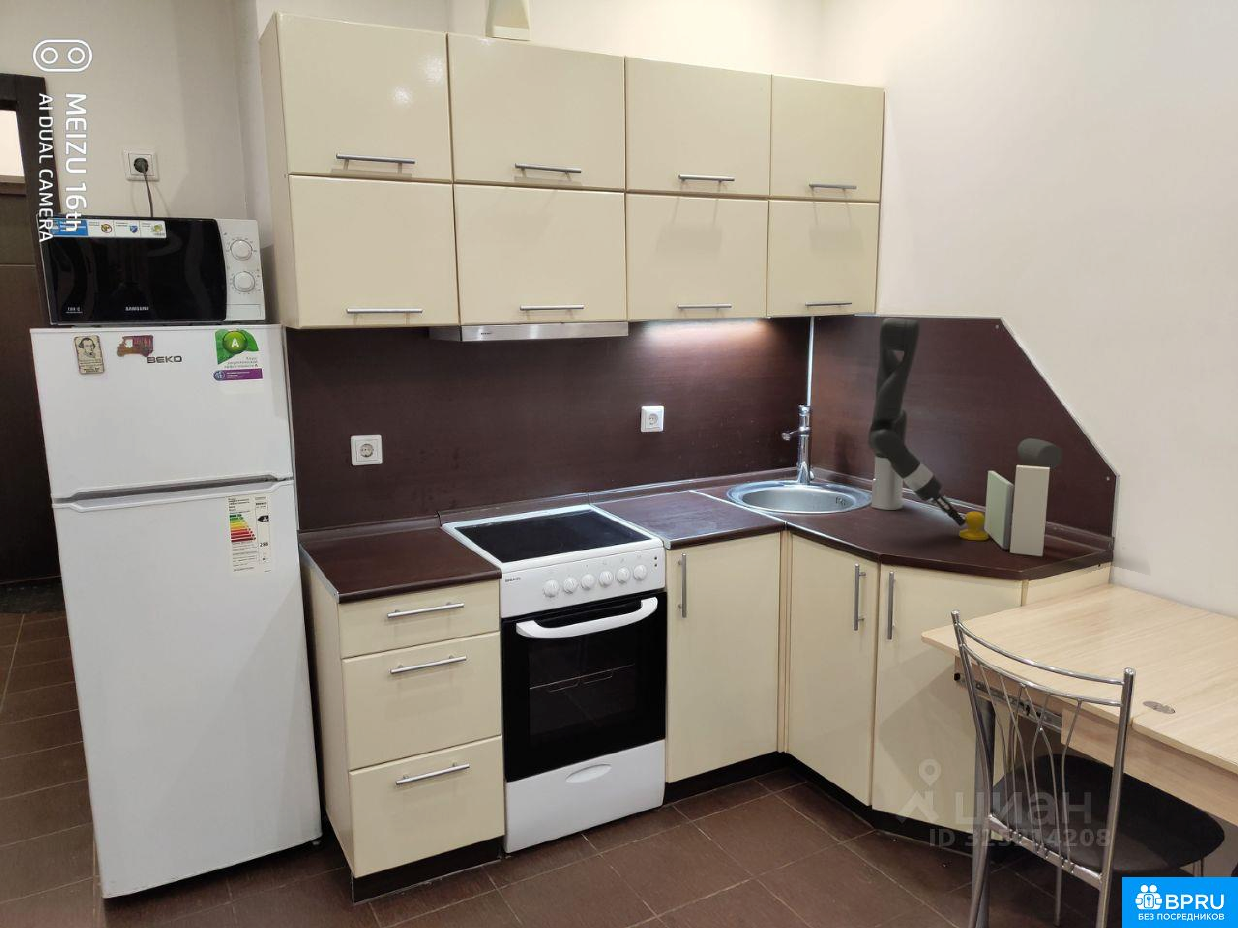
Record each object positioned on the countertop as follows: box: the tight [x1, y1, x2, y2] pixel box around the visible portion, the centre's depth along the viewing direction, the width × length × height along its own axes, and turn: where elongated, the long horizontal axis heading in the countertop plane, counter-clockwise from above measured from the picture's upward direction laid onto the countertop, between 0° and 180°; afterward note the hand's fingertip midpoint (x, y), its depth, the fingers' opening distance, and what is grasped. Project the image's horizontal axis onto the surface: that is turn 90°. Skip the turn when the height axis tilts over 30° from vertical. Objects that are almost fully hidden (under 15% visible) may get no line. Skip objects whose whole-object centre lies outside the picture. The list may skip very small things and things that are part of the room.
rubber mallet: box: [1017, 437, 1063, 470], centre depth 248 cm, size 12×8×30 cm, turn 3°
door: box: [983, 470, 1015, 550], centre depth 252 cm, size 21×2×18 cm, turn 172°
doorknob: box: [958, 511, 990, 541], centre depth 258 cm, size 8×8×8 cm
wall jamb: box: [1009, 464, 1051, 557], centre depth 240 cm, size 8×3×24 cm, turn 62°
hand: (962, 523), depth 259 cm, fingers closed
